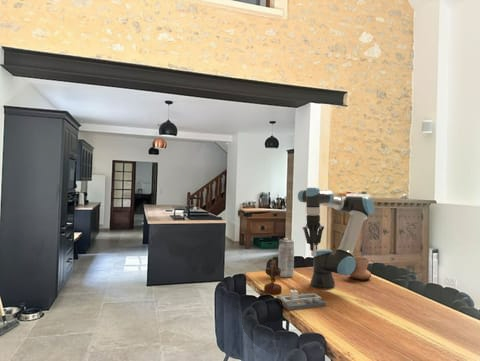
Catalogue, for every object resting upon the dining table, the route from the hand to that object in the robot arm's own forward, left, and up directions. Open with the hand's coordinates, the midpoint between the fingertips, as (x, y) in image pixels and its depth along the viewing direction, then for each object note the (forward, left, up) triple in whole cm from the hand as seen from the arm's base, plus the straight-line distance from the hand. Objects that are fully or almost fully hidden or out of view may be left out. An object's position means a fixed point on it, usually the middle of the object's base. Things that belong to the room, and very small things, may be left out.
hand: (313, 255), depth 179 cm
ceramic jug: (-54, -29, -25) cm, 66 cm away
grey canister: (-6, -48, -25) cm, 54 cm away
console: (+10, +3, -24) cm, 27 cm away
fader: (+14, +3, -22) cm, 26 cm away
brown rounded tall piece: (+17, -19, -25) cm, 35 cm away
